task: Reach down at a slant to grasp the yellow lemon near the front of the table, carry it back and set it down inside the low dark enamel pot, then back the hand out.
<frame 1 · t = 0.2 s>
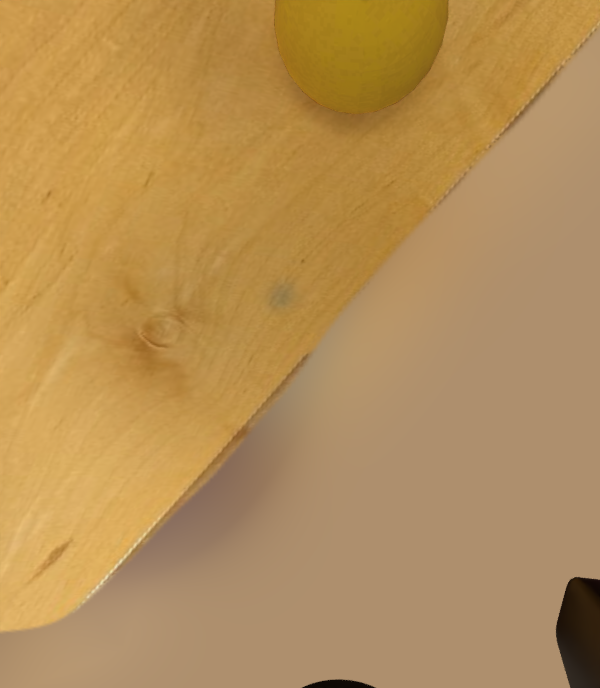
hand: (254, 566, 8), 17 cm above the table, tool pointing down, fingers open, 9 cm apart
lemon: (353, 56, 23), on the table
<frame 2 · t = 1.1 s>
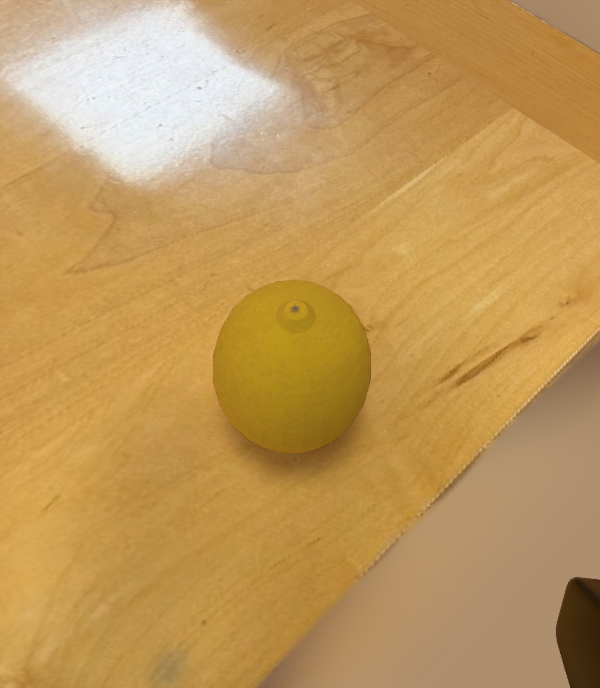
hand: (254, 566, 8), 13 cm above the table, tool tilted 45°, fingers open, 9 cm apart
lemon: (288, 415, 24), on the table
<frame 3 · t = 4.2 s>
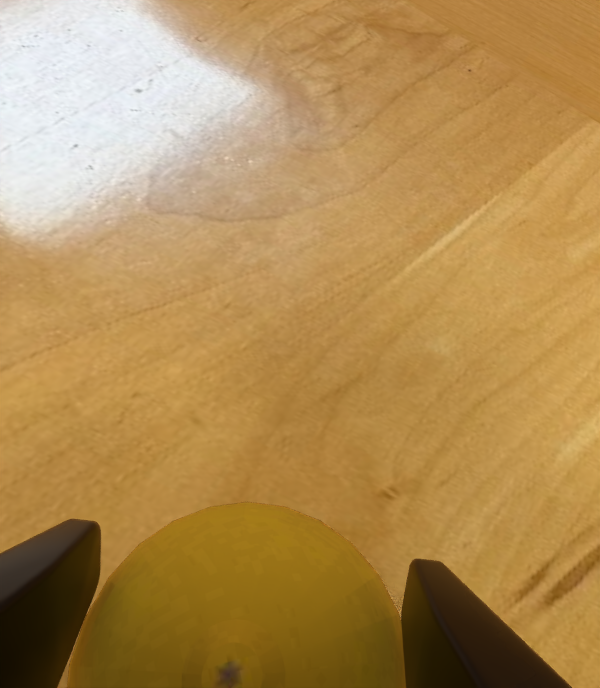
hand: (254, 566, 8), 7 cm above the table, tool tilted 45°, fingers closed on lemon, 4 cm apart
lemon: (252, 673, 13), on the table, touching gripper
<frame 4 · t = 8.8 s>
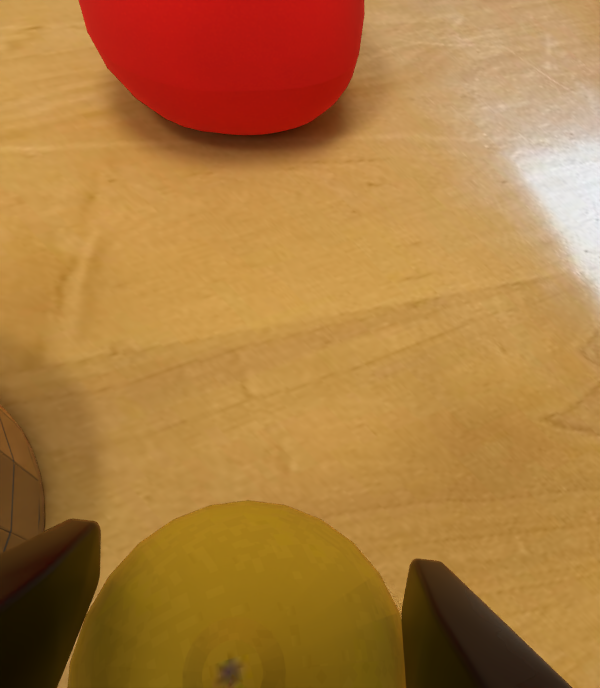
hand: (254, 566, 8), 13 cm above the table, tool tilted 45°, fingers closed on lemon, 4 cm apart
lemon: (252, 672, 13), point 7 cm above the table, touching gripper
tomato: (236, 101, 33), on the table
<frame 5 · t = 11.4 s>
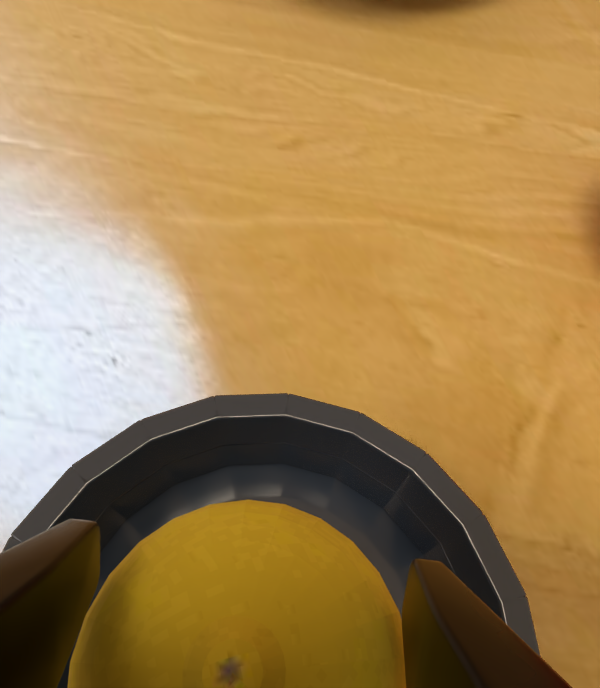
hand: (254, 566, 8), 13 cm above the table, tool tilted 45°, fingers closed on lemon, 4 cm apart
lemon: (252, 671, 13), point 6 cm above the table, touching gripper
pot: (259, 661, 19), on the table
when the fingers open (7 cm above the table, at t = 13.6 s): lemon stays where it is, resting on pot.
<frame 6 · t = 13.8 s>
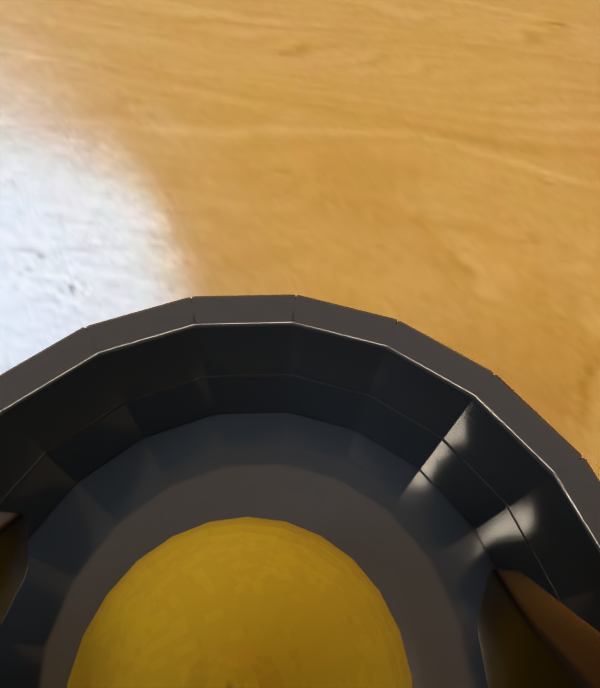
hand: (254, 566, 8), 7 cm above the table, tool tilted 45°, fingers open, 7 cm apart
lemon: (251, 684, 13), resting on pot
pot: (254, 673, 14), on the table
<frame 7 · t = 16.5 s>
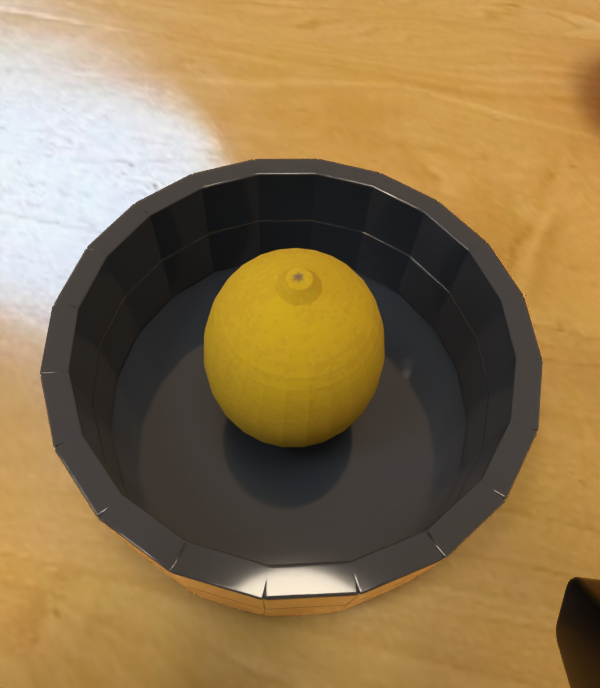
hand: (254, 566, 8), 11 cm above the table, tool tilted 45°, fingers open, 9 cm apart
lemon: (289, 406, 21), resting on pot
pot: (290, 405, 22), on the table
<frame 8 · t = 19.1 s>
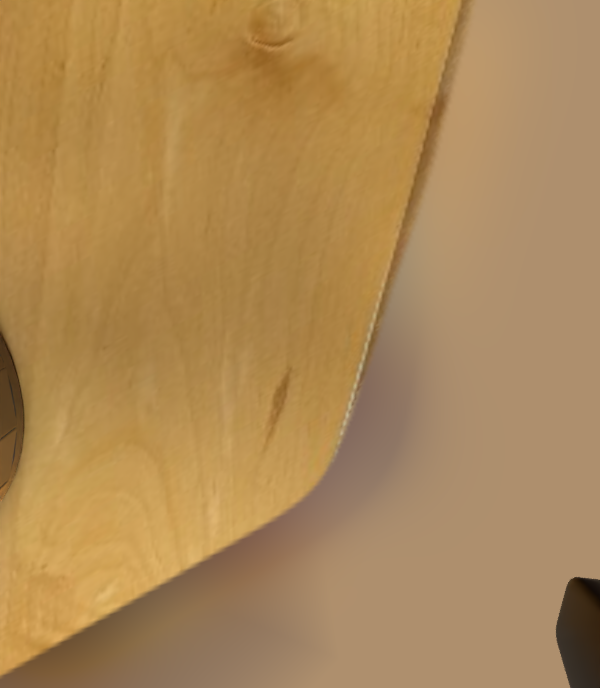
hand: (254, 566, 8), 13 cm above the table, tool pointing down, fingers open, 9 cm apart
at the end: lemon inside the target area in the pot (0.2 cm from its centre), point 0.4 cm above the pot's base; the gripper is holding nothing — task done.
